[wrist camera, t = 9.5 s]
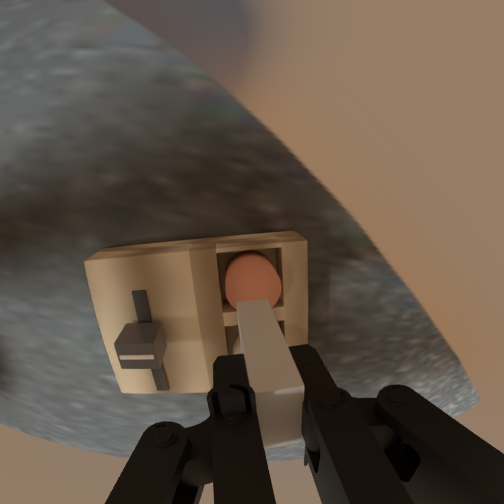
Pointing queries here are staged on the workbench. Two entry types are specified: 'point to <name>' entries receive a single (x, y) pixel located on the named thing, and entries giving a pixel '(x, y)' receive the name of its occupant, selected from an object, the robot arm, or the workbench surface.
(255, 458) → the robot arm
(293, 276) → the console
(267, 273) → the button
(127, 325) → the fader knob
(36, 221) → the workbench surface
